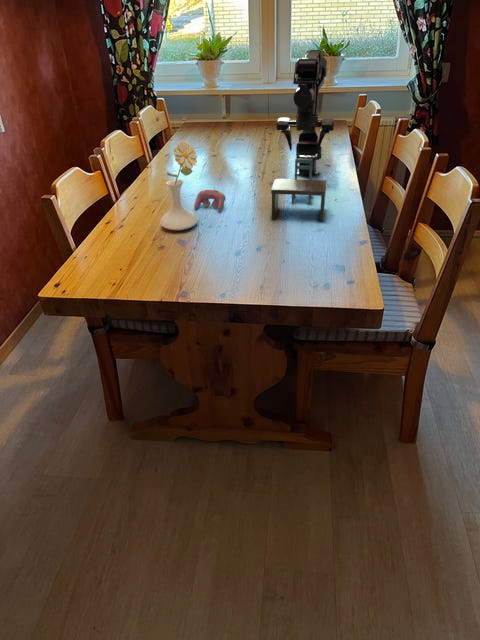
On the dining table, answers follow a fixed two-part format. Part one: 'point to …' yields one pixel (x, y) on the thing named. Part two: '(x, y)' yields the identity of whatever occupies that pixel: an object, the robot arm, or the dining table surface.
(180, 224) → the flower in vase
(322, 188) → the desk
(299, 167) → the chair
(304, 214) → the dining table surface
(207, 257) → the dining table surface
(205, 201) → the video game controller
